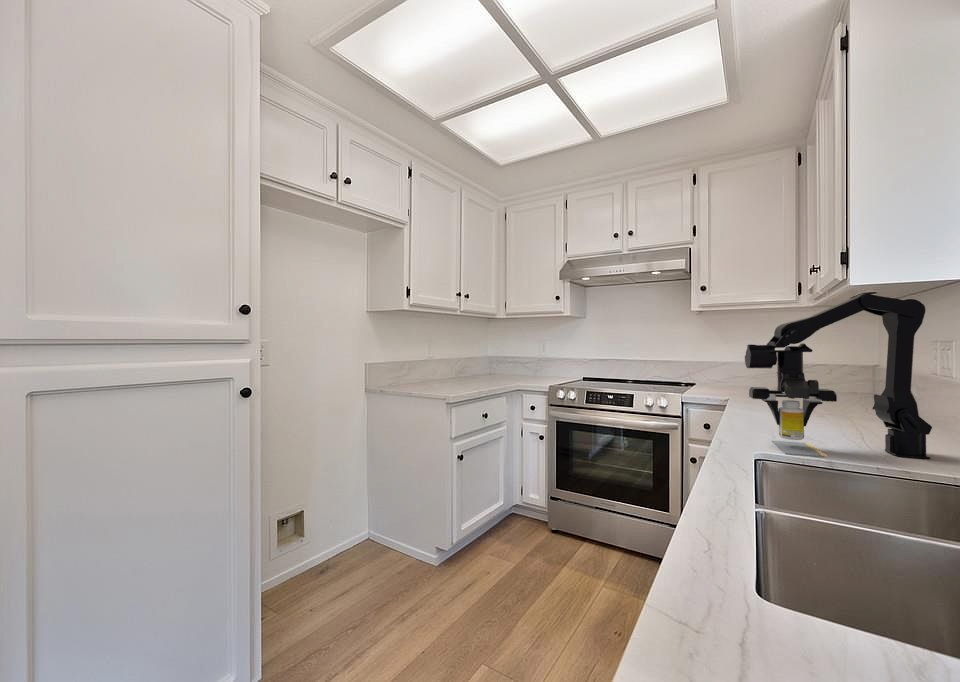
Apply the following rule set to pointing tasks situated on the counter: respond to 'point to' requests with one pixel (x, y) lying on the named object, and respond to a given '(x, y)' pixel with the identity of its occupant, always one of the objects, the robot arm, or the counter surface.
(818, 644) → the counter surface
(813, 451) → the mat
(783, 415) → the supplement bottle
